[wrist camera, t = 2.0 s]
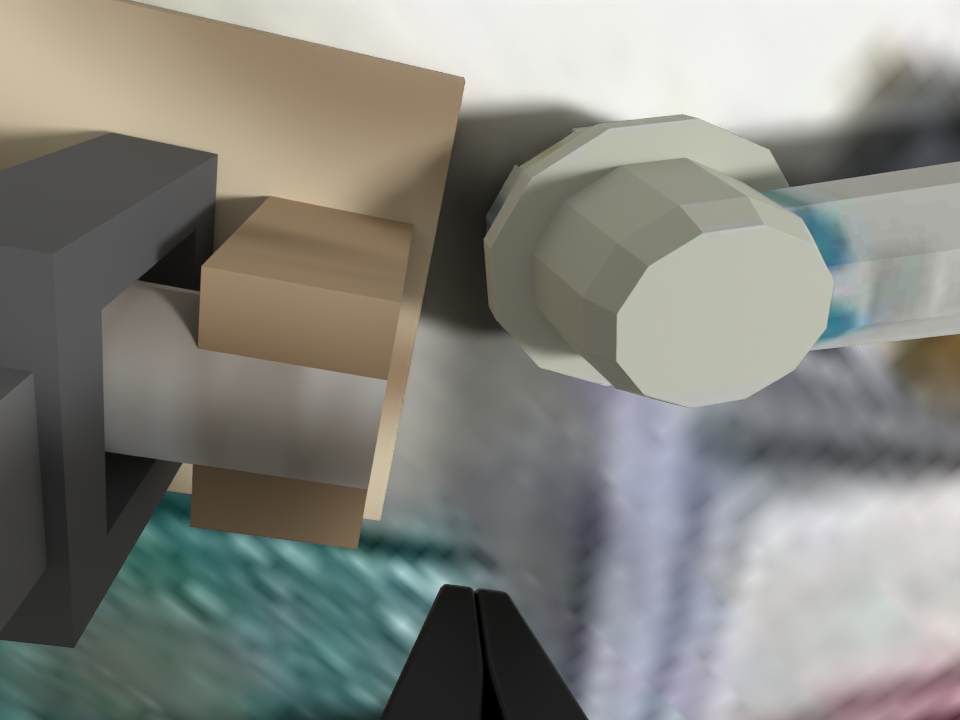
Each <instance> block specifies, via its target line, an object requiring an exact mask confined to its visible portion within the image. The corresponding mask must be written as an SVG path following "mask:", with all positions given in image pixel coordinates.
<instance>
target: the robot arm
mask: <svg viewBox="0 0 960 720" xmlns="http://www.w3.org/2000/svg"><path fill="white" fill-rule="evenodd" d="M380 720H588V718H587V717H586V715H585V713H584V712H583V710H582V709H581V707H580V706H579V704H578V703H577V701H576V699H575V698H574V696H573V695H572V693H571V692H570V690H569V688H568V687H567V685H566V684H565V682H564V681H563V679H562V677H561V676H560V674H559V673H558V671H557V670H556V668H555V666H554V665H553V663H552V662H551V660H550V659H549V657H548V655H547V654H546V652H545V651H544V649H543V648H542V646H541V644H540V643H539V641H538V640H537V638H536V637H535V635H534V633H533V632H532V630H531V629H530V627H529V626H528V624H527V623H526V621H525V619H524V618H523V616H522V615H521V613H520V612H519V610H518V608H517V607H516V605H515V604H514V602H513V601H512V599H511V597H510V596H509V595H508V594H507V593H505V592H503V591H496V590H489V589H477V590H475V592H474V591H473V589H472V588H470V587H465V586H458V585H450V584H445V585H443V586H442V587H441V588H440V590H439V592H438V594H437V596H436V599H435V601H434V603H433V605H432V607H431V609H430V612H429V614H428V616H427V618H426V620H425V622H424V625H423V627H422V629H421V631H420V633H419V635H418V638H417V640H416V642H415V644H414V646H413V648H412V651H411V653H410V655H409V657H408V659H407V661H406V664H405V666H404V668H403V670H402V672H401V674H400V677H399V679H398V681H397V683H396V685H395V687H394V690H393V692H392V694H391V696H390V698H389V700H388V703H387V705H386V707H385V709H384V711H383V713H382V716H381V718H380Z"/></svg>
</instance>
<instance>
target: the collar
mask: <svg viewBox="0 0 960 720" xmlns="http://www.w3.org/2000/svg"><path fill="white" fill-rule="evenodd" d="M217 166H218V154H215V153H210V152H205V151H200V150H195V149H191V148H186V147H181V146H176V145H171V144H166V143H161V142H157V141H152V140H147V139H142V138H137V137H132V136H127V135H123V134H118V133H113V132H111V133H108V134H105V135H102V136H99V137H97V138H94V139H91V140H88V141H85V142H82V143H79V144H76V145H73V146H70V147H68V148H65V149H62V150H59V151H56V152H53V153H50V154H47V155H44V156H42V157H39V158H36V159H33V160H30V161H27V162H24V163H21V164H18V165H15V166H13V167H10V168H7V169H4V170H1V171H0V640H7V641H16V642H25V643H34V644H44V645H53V646H62V647H71V648H74V647H75V645H76V643H77V642H78V640H79V638H80V637H81V635H82V633H83V632H84V630H85V628H86V626H87V625H88V623H89V621H90V620H91V618H92V616H93V615H94V613H95V611H96V609H97V608H98V606H99V604H100V603H101V601H102V599H103V598H104V596H105V594H106V593H107V591H108V589H109V587H110V586H111V584H112V582H113V581H114V579H115V577H116V576H117V574H118V572H119V570H120V569H121V567H122V565H123V564H124V562H125V560H126V559H127V557H128V555H129V553H130V552H131V550H132V548H133V547H134V545H135V543H136V542H137V540H138V538H139V536H140V535H141V533H142V531H143V530H144V528H145V526H146V525H147V523H148V521H149V520H150V518H151V516H152V514H153V513H154V511H155V509H156V508H157V506H158V504H159V503H160V501H161V499H162V497H163V496H164V494H165V492H166V491H167V489H168V487H169V486H170V484H171V482H172V480H173V479H174V477H175V475H176V474H177V472H178V470H179V469H180V467H181V465H182V463H180V462H173V461H166V460H160V459H153V458H146V457H139V456H132V455H125V454H119V453H112V452H105V435H104V393H103V350H102V309H103V308H104V307H106V306H107V305H108V304H109V303H110V302H112V301H113V300H114V299H115V298H116V297H117V296H119V295H120V294H121V293H122V292H123V291H124V290H126V289H127V288H128V287H129V286H130V285H131V284H133V283H134V282H135V281H136V280H138V281H144V282H150V283H155V284H161V285H166V286H172V287H177V288H183V289H189V290H194V291H200V287H201V266H202V265H203V264H204V263H205V262H206V261H207V260H208V259H209V258H210V257H211V256H212V255H213V245H214V225H215V205H216V186H217Z"/></svg>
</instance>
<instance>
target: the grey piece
mask: <svg viewBox="0 0 960 720" xmlns="http://www.w3.org/2000/svg"><path fill="white" fill-rule="evenodd" d="M486 226H487V234H486V236H485V238H484V252H485V265H486V278H487V291H488V304H489V308H490V310H491V312H492V314H493V315H494V317H495V319H496V320H497V321H498V322H499V323H500V325H501V326H502V327H503V328H504V329H505V330H506V331H507V332H508V333H509V334H510V335H511V337H512V338H513V339H514V340H515V341H516V342H517V343H518V344H519V345H520V346H521V348H522V349H523V350H524V351H525V352H526V353H527V354H528V355H529V356H530V357H531V359H532V360H533V361H534V362H535V363H536V364H537V365H538V366H539V367H540V368H543V369H547V370H551V371H554V372H558V373H561V374H565V375H569V376H572V377H576V378H579V379H583V380H587V381H590V382H594V383H597V384H601V385H605V386H614V387H615V388H616V389H620V390H623V391H627V392H630V393H634V394H638V395H641V396H645V397H648V398H652V399H656V400H659V401H663V402H666V403H670V404H675V405H680V406H684V407H689V408H694V407H700V406H706V405H712V404H718V403H724V402H730V401H736V400H742V399H746V398H747V397H749V396H751V395H753V394H754V393H756V392H758V391H759V390H761V389H763V388H765V387H766V386H768V385H770V384H771V383H773V382H775V381H776V380H778V379H780V378H782V377H783V376H785V375H787V374H788V373H790V372H792V371H793V370H794V369H795V368H796V367H797V366H798V364H799V363H800V362H801V360H802V359H803V358H804V357H805V355H806V354H807V353H808V351H810V350H818V349H827V348H836V347H845V346H854V345H863V344H872V343H881V342H890V341H899V340H908V339H917V338H926V337H934V336H943V335H952V334H960V161H958V162H952V163H945V164H939V165H932V166H926V167H919V168H913V169H906V170H900V171H893V172H887V173H880V174H874V175H867V176H861V177H854V178H847V179H841V180H834V181H828V182H821V183H815V184H808V185H802V186H795V187H790V186H789V184H788V182H787V180H786V178H785V177H784V175H783V173H782V171H781V169H780V168H779V166H778V164H777V162H776V161H775V159H774V157H773V155H772V153H771V152H770V150H769V149H767V148H765V147H762V146H760V145H758V144H756V143H753V142H751V141H749V140H746V139H744V138H742V137H740V136H737V135H735V134H733V133H731V132H728V131H726V130H724V129H721V128H719V127H717V126H715V125H712V124H710V123H708V122H705V121H703V120H701V119H698V118H695V117H691V116H687V115H683V114H681V115H672V116H663V117H654V118H645V119H636V120H627V121H618V122H609V123H600V124H596V125H594V126H588V127H579V128H571V134H570V135H568V136H567V137H565V138H563V139H562V140H560V141H559V142H557V143H556V144H554V145H552V146H551V147H549V148H548V149H546V150H545V151H543V152H541V153H540V154H538V155H537V156H535V157H534V158H532V159H530V160H529V161H527V162H526V163H524V164H523V165H521V166H517V165H516V164H515V165H514V167H513V169H512V171H511V173H510V174H509V176H508V178H507V180H506V181H505V183H504V185H503V187H502V188H501V190H500V192H499V194H498V196H497V197H496V199H495V201H494V203H493V204H492V206H491V208H490V210H489V211H488V213H487V215H486Z"/></svg>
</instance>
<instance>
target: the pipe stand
mask: <svg viewBox="0 0 960 720" xmlns="http://www.w3.org/2000/svg"><path fill="white" fill-rule="evenodd" d="M464 85H465V79H464V77H459V76H455V75H451V74H446V73H442V72H438V71H433V70H429V69H425V68H420V67H416V66H412V65H407V64H403V63H399V62H394V61H390V60H386V59H381V58H377V57H373V56H368V55H364V54H360V53H355V52H351V51H347V50H342V49H338V48H334V47H329V46H325V45H321V44H316V43H312V42H308V41H303V40H299V39H295V38H290V37H286V36H282V35H277V34H273V33H269V32H264V31H260V30H256V29H251V28H247V27H243V26H239V25H234V24H230V23H226V22H221V21H217V20H213V19H208V18H204V17H200V16H195V15H191V14H187V13H182V12H178V11H174V10H169V9H165V8H161V7H156V6H152V5H148V4H143V3H139V2H135V1H130V0H0V171H1V170H4V169H7V168H10V167H13V166H15V165H18V164H21V163H24V162H27V161H30V160H33V159H36V158H39V157H42V156H44V155H47V154H50V153H53V152H56V151H59V150H62V149H65V148H68V147H70V146H73V145H76V144H79V143H82V142H85V141H88V140H91V139H94V138H97V137H99V136H102V135H105V134H108V133H111V132H113V133H118V134H123V135H127V136H132V137H137V138H142V139H147V140H152V141H157V142H161V143H166V144H171V145H176V146H181V147H186V148H191V149H195V150H200V151H205V152H210V153H215V154H218V166H217V186H216V205H215V225H214V245H213V255H212V256H211V257H210V258H209V259H208V260H207V261H206V262H205V263H204V264H203V265H202V266H201V287H200V291H194V290H189V289H183V288H177V287H172V286H166V285H161V284H155V283H150V282H144V281H138V280H136V281H135V282H134V283H133V284H131V285H130V286H129V287H128V288H127V289H126V290H124V291H123V292H122V293H121V294H120V295H119V296H117V297H116V298H115V299H114V300H113V301H112V302H110V303H109V304H108V305H107V306H106V307H104V308H103V309H102V350H103V393H104V435H105V452H112V453H119V454H125V455H132V456H139V457H146V458H153V459H160V460H166V461H173V462H180V463H182V465H181V467H180V469H179V470H178V472H177V474H176V475H175V477H174V479H173V480H172V482H171V484H170V486H169V487H168V489H167V491H174V492H181V493H188V494H192V496H191V519H190V527H196V528H203V529H211V530H218V531H225V532H233V533H240V534H248V535H255V536H263V537H270V538H277V539H285V540H292V541H300V542H307V543H315V544H322V545H329V546H337V547H344V548H352V549H357V547H358V541H359V536H360V530H361V525H362V519H363V518H365V519H373V520H380V518H381V513H382V508H383V503H384V498H385V493H386V488H387V482H388V477H389V472H390V467H391V462H392V457H393V451H394V446H395V441H396V436H397V431H398V426H399V420H400V415H401V410H402V405H403V400H404V395H405V389H406V384H407V379H408V374H409V369H410V364H411V359H412V353H413V348H414V343H415V338H416V333H417V328H418V322H419V317H420V312H421V307H422V302H423V297H424V291H425V286H426V281H427V276H428V271H429V266H430V260H431V255H432V250H433V245H434V240H435V235H436V230H437V224H438V219H439V214H440V209H441V204H442V199H443V193H444V188H445V183H446V178H447V173H448V168H449V162H450V157H451V152H452V147H453V142H454V137H455V131H456V126H457V121H458V116H459V111H460V106H461V101H462V95H463V90H464Z"/></svg>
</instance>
